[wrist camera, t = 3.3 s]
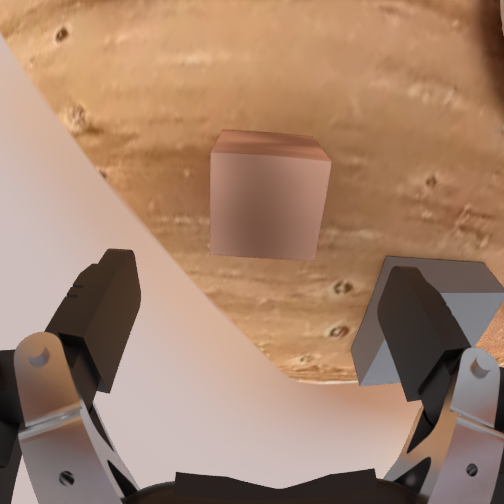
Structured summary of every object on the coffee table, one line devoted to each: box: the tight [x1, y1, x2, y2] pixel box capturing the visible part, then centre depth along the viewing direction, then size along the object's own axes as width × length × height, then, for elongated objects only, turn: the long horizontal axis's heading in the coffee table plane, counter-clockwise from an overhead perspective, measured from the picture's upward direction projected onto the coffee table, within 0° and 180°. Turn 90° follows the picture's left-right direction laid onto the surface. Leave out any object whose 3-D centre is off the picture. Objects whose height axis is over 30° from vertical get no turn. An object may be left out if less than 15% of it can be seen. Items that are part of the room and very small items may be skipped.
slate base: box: [351, 256, 504, 386], centre depth 22 cm, size 10×10×4 cm
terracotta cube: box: [210, 130, 332, 261], centre depth 16 cm, size 5×5×5 cm
